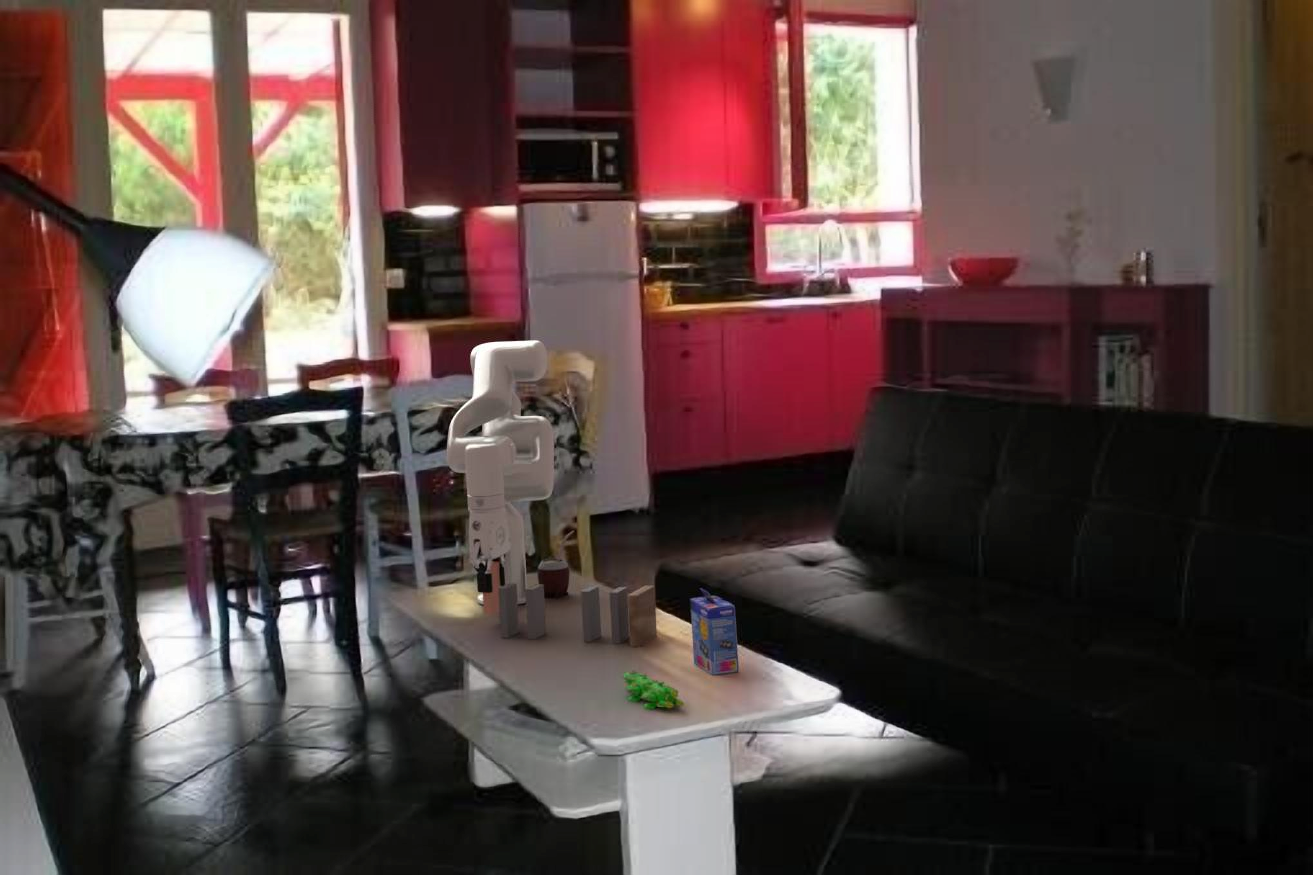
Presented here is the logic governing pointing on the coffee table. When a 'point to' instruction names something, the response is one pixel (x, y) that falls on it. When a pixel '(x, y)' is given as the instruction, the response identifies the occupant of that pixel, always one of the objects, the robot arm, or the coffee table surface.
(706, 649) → the ink cartridge box
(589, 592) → the domino
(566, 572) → the mate gourd
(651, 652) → the coffee table surface
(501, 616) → the domino
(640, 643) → the end post
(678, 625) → the coffee table surface
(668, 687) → the green bumpy elongated piece
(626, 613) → the domino
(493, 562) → the domino
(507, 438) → the robot arm
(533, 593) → the domino
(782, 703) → the coffee table surface
